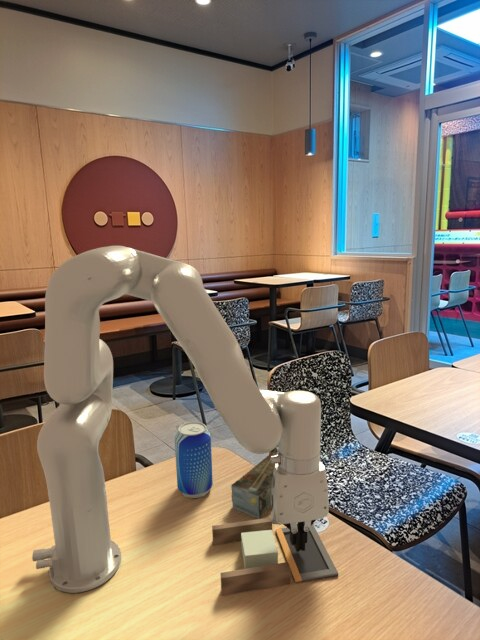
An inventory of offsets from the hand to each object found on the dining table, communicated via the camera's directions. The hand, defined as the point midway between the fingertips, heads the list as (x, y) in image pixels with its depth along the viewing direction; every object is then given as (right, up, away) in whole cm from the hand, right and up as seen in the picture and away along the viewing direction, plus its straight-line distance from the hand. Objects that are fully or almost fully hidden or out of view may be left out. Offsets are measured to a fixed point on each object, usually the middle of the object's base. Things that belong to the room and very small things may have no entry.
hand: (298, 545), depth 83 cm
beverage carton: (-4, +2, +20) cm, 20 cm away
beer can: (-22, +2, +21) cm, 31 cm away
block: (-8, -2, -1) cm, 8 cm away
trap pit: (+1, -2, +1) cm, 2 cm away
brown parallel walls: (-10, -2, -1) cm, 10 cm away
